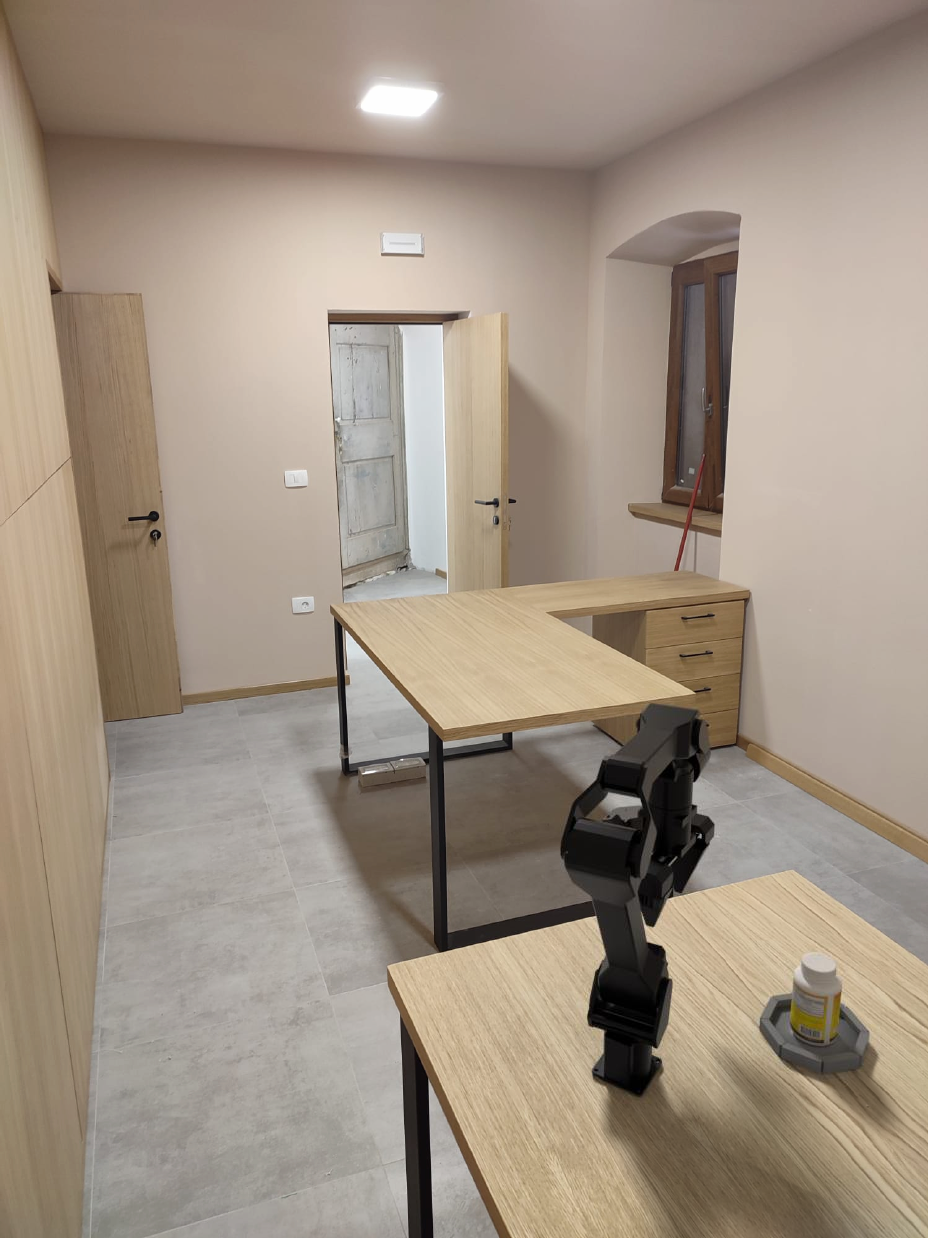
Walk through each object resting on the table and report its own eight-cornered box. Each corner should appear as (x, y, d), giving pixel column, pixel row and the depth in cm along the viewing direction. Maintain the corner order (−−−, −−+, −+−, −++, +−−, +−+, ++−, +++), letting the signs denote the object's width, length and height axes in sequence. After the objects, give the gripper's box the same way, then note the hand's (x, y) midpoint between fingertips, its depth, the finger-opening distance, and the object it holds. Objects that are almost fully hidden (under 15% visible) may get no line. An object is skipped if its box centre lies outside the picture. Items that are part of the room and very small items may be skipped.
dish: (853, 1087, 100) (855, 1076, 100) (750, 1045, 107) (751, 1035, 107) (874, 1026, 110) (875, 1015, 109) (778, 991, 117) (778, 981, 116)
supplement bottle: (822, 1015, 111) (829, 946, 109) (845, 1046, 106) (853, 974, 103) (781, 1019, 111) (786, 949, 108) (802, 1051, 105) (808, 978, 103)
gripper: (640, 760, 121) (637, 859, 125) (577, 813, 107) (576, 923, 111) (718, 778, 115) (712, 883, 119) (662, 837, 100) (657, 954, 104)
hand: (664, 908), depth 114 cm, fingers open, 9 cm apart
